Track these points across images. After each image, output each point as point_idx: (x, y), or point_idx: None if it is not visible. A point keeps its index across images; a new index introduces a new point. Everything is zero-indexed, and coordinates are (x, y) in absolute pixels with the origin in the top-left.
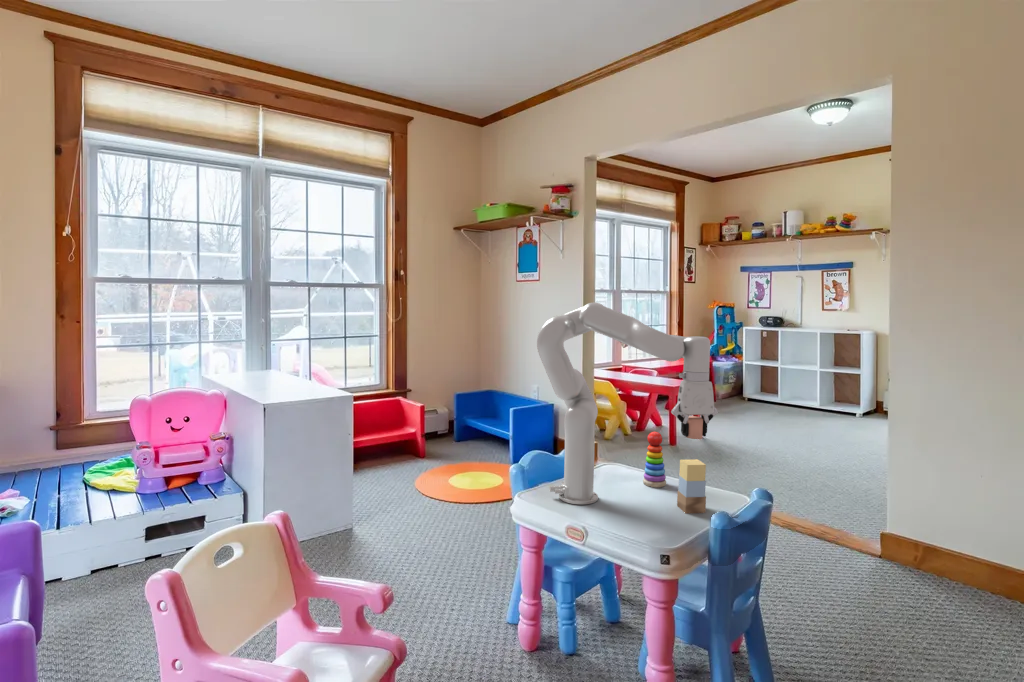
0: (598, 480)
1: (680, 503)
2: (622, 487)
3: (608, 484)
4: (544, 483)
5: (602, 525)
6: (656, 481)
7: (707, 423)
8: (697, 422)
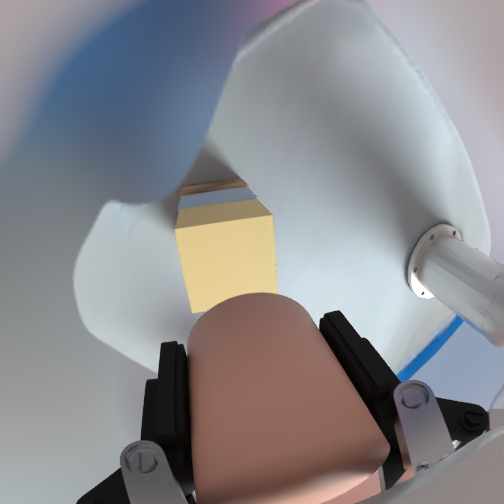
0: None
1: None
2: None
3: None
4: (447, 324)
5: (433, 115)
6: None
7: (140, 441)
8: (295, 414)
